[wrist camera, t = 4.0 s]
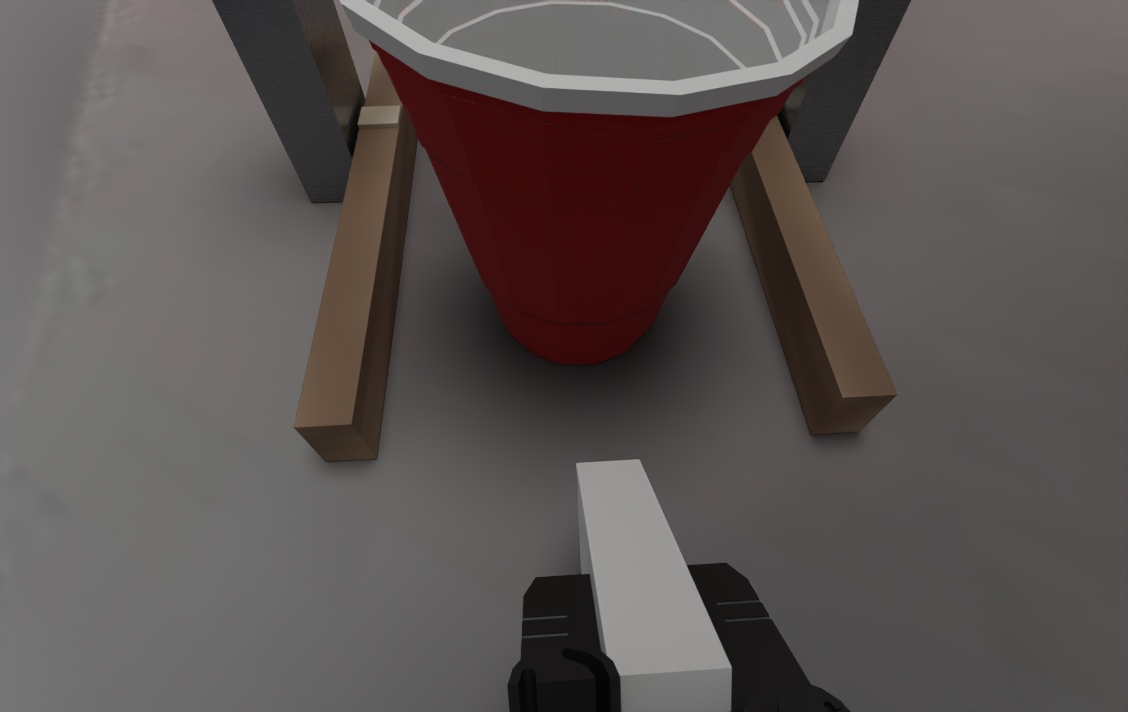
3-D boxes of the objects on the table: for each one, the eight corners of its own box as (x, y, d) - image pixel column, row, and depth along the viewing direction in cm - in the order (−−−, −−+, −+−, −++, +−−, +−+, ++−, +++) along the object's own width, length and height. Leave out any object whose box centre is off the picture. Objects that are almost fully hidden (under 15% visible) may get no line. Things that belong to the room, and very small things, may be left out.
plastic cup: (788, 330, 21) (1003, -43, 11) (541, 493, 17) (506, 179, 7) (609, 168, 25) (638, -193, 15) (389, 272, 22) (242, -102, 12)
